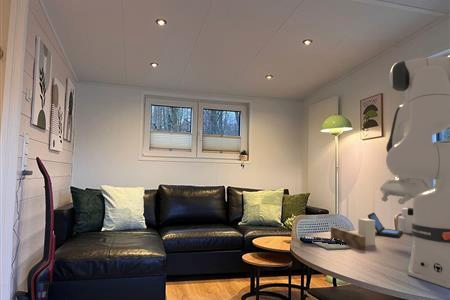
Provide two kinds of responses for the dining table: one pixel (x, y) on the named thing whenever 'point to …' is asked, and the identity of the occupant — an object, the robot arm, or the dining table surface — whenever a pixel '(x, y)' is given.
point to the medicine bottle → (406, 220)
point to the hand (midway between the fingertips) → (391, 201)
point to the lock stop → (367, 230)
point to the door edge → (348, 237)
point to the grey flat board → (331, 246)
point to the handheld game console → (382, 230)
